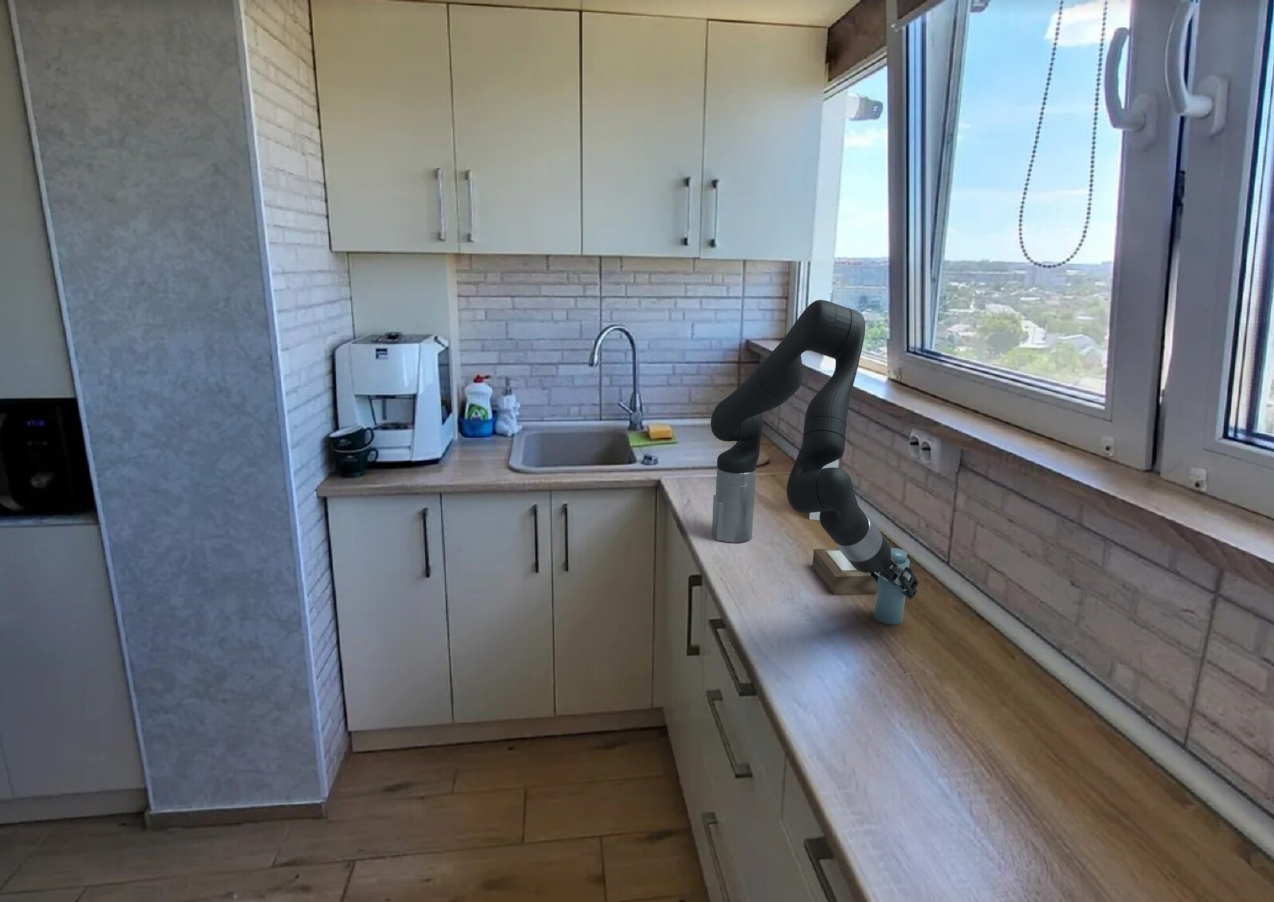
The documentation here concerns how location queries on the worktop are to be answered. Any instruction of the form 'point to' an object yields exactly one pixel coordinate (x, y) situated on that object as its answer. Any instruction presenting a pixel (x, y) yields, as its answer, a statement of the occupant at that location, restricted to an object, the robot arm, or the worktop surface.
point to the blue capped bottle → (891, 594)
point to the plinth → (841, 573)
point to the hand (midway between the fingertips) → (897, 587)
